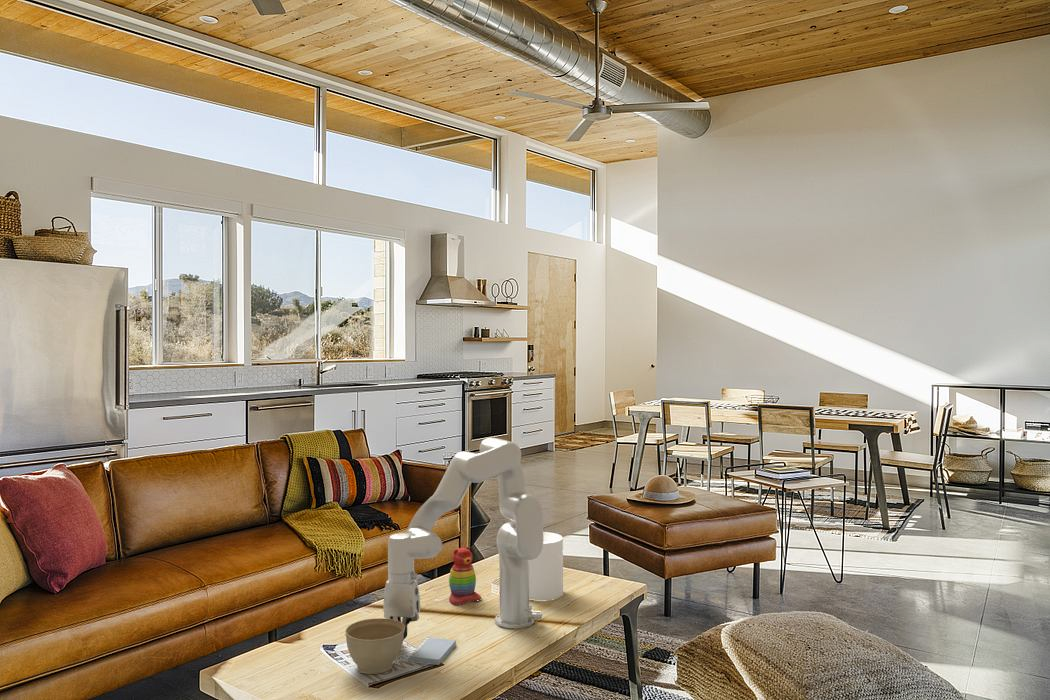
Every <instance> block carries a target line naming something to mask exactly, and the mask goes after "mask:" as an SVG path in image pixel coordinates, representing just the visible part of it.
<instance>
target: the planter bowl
mask: <svg viewBox="0 0 1050 700" xmlns="http://www.w3.org/2000/svg"><path fill="white" fill-rule="evenodd" d="M401 622H402V621H401ZM401 622H399V621H397V620H393V619H387V618H384V617H383V618H382V617H381V618H380V617H379V618H368V619H367V618H365V619H362V620H359V621H355V622H353V623H351V624H349V625H348V626H347V627H346V628H345V632H344V633H345V637H346V638H345V639H346V646H347V650H348V654H349V655H350V658H351V660H353V662H354V663H355V665H356V668H357V670H358V671H359V672H360V673H363V674H367V675H377V674H383V673H386V672H388V671H390V670H391V669H392V668H393V664H394V662H395V660H396V659H397V658H398V656H399V654H400V652H401V650H402V647H403V645H404V644H403V643H404V640H405V639H404V631H405V626H404V624H403V623H401ZM403 639H404V640H403Z"/></svg>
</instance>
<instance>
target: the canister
mask: <svg viewBox="0 0 1050 700" xmlns="http://www.w3.org/2000/svg"><path fill="white" fill-rule="evenodd" d="M563 550H564V538H563V536H562V535H561V534H558V533H555V532H550V531H549V532H548V531H543V548H542V551H541V553H540V554H539V556H538V557H537V558H535V559H533V560H528V561H529V599H534V600H551V601H553V600H552V599H555V600H557V599H556V598H558V597H560V596H562V597H563V595H564V552H563ZM560 598H561V597H560Z"/></svg>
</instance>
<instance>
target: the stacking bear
mask: <svg viewBox="0 0 1050 700" xmlns="http://www.w3.org/2000/svg"><path fill="white" fill-rule="evenodd" d="M471 551H472V550H471V548H470V547H469V546H466V547H459V548H455V549H454V550H453V553H452V560H453V561H452V562H453V563H454V564H453V565H452V567H451V568H450V572H449V575H448V576H449V577H448V584H449V585H448V586H449V590H450V594H449V599H448V600H449V602H450V604H452V605H453V604H454V606H460V605H459V604H462V605H464V604H466V603H465V602H467V603H469V602H468V601H477V600H480V599H481V600H482V597H481V595H480V594H479V593H477V592H476V591H475V590H476V583H477V576H476V572H475V569H474V566H473V564H472V562H473V558H474V557H473V556H474V555H473V554H472V553H473V552H471ZM481 600H480V601H481ZM463 603H464V604H463Z"/></svg>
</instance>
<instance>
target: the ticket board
mask: <svg viewBox="0 0 1050 700" xmlns="http://www.w3.org/2000/svg"><path fill="white" fill-rule="evenodd" d="M456 645H457V640H456V639H450V638H449V639H448V638H440V637H429V636H428V637H426V638H425V639H424V640H423V641H422V643H420V644H419V645H418V646H417V647H416V648H415V649H414V651H413V652H412V653H410V654H409V656H408V662H410V663H417V664H427V665H437V666H439V665H440V664H442V662H443V661H444V660H445V659H446V657H447V656H448V655H449V654H450V653H451V652H452V650H453V649H454V648H455V647H456Z"/></svg>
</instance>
